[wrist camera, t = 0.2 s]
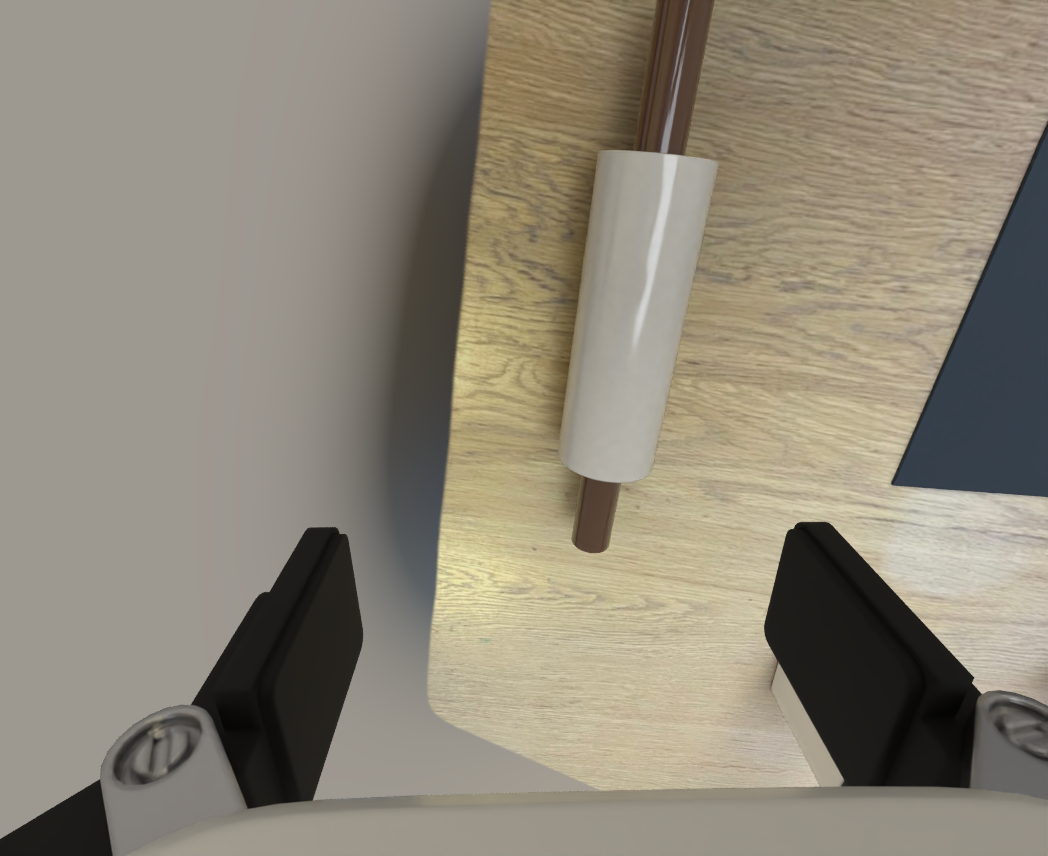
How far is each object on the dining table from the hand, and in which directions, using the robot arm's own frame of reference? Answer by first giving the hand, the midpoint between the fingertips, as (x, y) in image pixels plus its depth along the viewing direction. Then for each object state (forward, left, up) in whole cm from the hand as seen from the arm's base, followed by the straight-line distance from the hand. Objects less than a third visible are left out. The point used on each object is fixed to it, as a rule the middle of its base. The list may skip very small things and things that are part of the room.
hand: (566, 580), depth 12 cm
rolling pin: (+2, +5, -22) cm, 22 cm away
